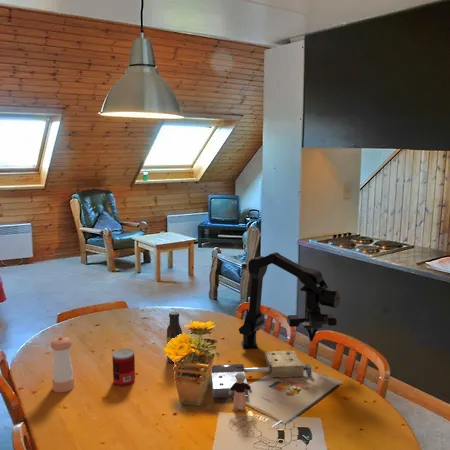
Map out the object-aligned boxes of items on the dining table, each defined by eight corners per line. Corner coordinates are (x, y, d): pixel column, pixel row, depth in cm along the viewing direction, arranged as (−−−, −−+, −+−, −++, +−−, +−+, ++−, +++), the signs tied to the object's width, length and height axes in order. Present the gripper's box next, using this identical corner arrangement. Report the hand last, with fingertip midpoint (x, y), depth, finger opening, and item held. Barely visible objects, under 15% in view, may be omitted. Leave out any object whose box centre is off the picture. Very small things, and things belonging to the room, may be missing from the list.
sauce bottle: (179, 364, 186) (179, 316, 183) (164, 363, 187) (163, 315, 184) (184, 357, 192) (183, 310, 189) (169, 356, 194) (169, 309, 190)
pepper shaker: (54, 394, 163) (51, 342, 160) (51, 385, 170) (48, 334, 167) (76, 389, 167) (73, 338, 164) (72, 380, 173) (69, 331, 170)
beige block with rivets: (264, 358, 191) (264, 348, 190) (293, 357, 192) (294, 347, 191) (271, 377, 175) (272, 366, 174) (303, 376, 176) (303, 365, 175)
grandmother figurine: (231, 413, 151) (231, 376, 149) (227, 407, 155) (227, 371, 153) (253, 410, 154) (253, 373, 152) (249, 404, 157) (249, 368, 155)
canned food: (139, 377, 175) (138, 350, 173) (127, 388, 168) (126, 359, 166) (121, 374, 178) (120, 347, 176) (109, 384, 170) (108, 356, 168)
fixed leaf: (211, 375, 177) (210, 363, 177) (308, 371, 180) (308, 359, 180) (213, 397, 161) (213, 384, 160) (320, 393, 164) (320, 380, 163)
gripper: (293, 310, 175) (292, 350, 177) (342, 309, 176) (340, 348, 179) (287, 301, 185) (286, 338, 188) (333, 299, 187) (331, 337, 189)
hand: (310, 340), depth 186 cm, fingers closed
